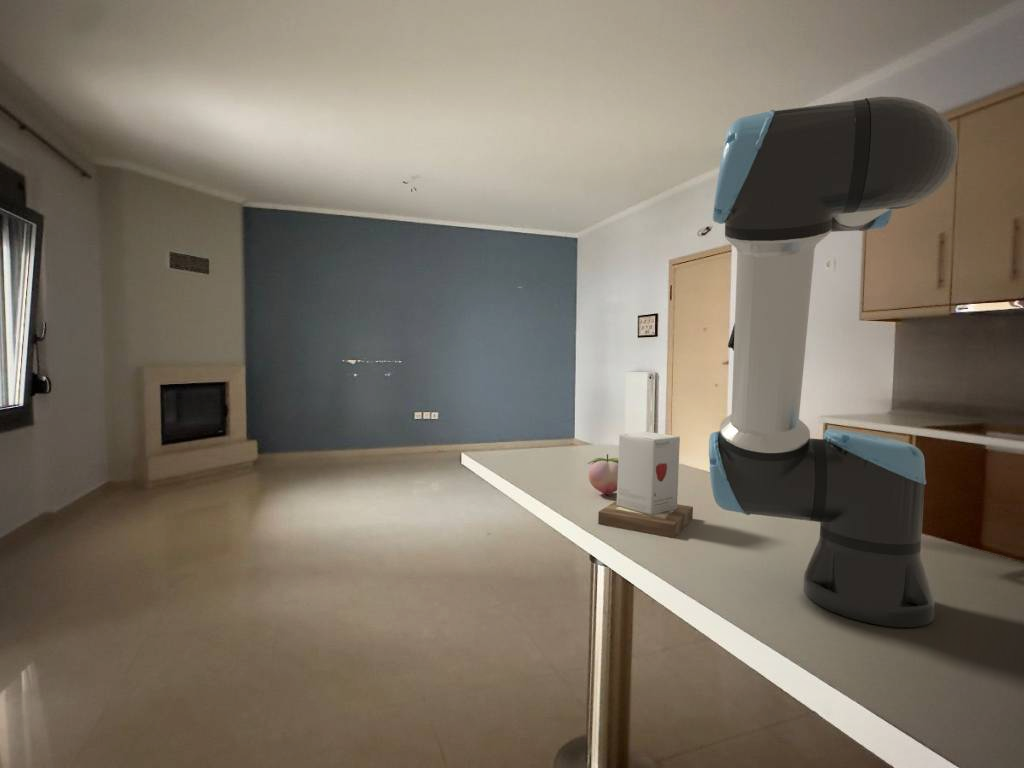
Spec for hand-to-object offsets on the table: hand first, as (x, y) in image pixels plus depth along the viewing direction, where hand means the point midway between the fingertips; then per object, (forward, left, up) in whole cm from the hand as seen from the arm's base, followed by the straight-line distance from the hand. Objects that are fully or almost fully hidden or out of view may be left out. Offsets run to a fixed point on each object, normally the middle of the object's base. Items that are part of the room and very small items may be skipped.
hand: (759, 383), depth 109 cm
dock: (-10, +19, -29) cm, 36 cm away
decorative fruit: (+6, +34, -29) cm, 45 cm away
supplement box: (-10, +19, -26) cm, 34 cm away
